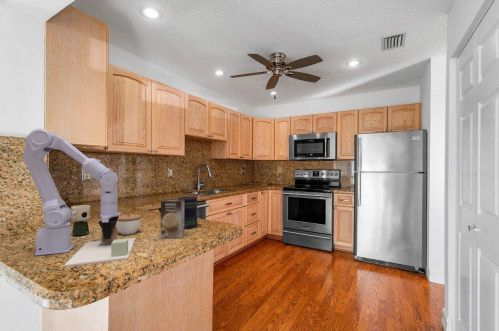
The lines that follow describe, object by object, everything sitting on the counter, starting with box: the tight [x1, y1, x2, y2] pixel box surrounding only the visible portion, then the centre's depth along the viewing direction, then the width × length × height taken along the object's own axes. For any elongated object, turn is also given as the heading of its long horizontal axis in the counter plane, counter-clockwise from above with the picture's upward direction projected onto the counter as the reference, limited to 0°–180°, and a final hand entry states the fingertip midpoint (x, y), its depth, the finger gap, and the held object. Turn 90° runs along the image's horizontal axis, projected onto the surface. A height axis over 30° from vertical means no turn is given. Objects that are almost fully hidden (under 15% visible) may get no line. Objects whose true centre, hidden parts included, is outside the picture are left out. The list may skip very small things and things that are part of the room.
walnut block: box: [101, 226, 118, 242], centre depth 93 cm, size 4×4×4 cm
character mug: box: [70, 204, 91, 236], centre depth 108 cm, size 11×7×13 cm, turn 179°
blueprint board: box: [63, 237, 136, 268], centre depth 86 cm, size 18×24×1 cm
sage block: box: [111, 237, 129, 257], centre depth 81 cm, size 4×4×4 cm
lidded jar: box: [115, 212, 142, 236], centre depth 110 cm, size 11×11×9 cm
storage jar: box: [177, 196, 198, 230], centre depth 121 cm, size 10×10×15 cm
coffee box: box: [159, 198, 185, 239], centre depth 105 cm, size 9×6×16 cm
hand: (109, 237), depth 93 cm, fingers closed on walnut block, 4 cm apart
